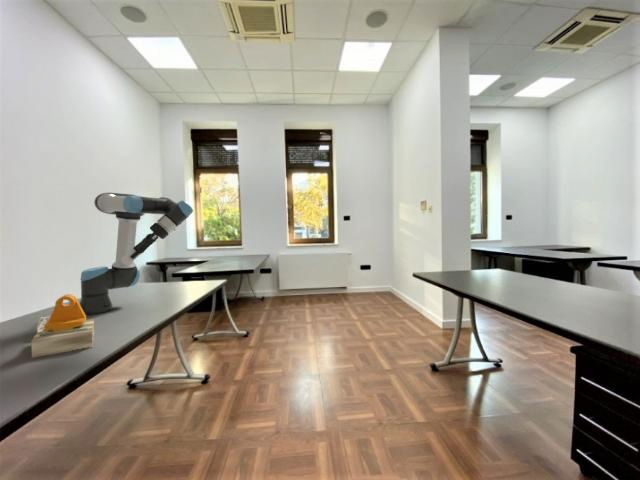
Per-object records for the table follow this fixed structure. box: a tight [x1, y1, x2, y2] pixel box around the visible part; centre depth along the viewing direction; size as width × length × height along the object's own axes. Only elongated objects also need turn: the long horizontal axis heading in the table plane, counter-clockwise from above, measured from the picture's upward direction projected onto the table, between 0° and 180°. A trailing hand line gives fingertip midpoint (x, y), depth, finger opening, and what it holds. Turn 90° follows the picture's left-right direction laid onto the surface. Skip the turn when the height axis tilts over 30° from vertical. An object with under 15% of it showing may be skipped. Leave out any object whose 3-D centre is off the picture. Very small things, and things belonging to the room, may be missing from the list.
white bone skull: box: [36, 313, 52, 332], centre depth 122 cm, size 12×9×10 cm
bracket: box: [44, 294, 87, 332], centre depth 109 cm, size 11×7×12 cm, turn 119°
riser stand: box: [30, 318, 95, 359], centre depth 109 cm, size 18×16×6 cm
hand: (123, 262), depth 123 cm, fingers open, 13 cm apart
